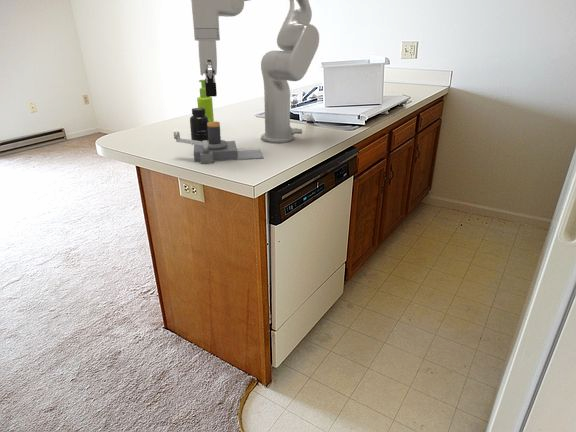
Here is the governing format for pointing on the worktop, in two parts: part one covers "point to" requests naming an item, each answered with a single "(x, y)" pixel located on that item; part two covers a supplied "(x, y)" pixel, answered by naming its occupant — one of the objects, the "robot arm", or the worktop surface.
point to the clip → (192, 142)
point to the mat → (249, 154)
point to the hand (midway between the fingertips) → (211, 93)
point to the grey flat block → (216, 153)
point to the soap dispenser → (205, 102)
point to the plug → (215, 136)
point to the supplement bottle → (199, 124)
